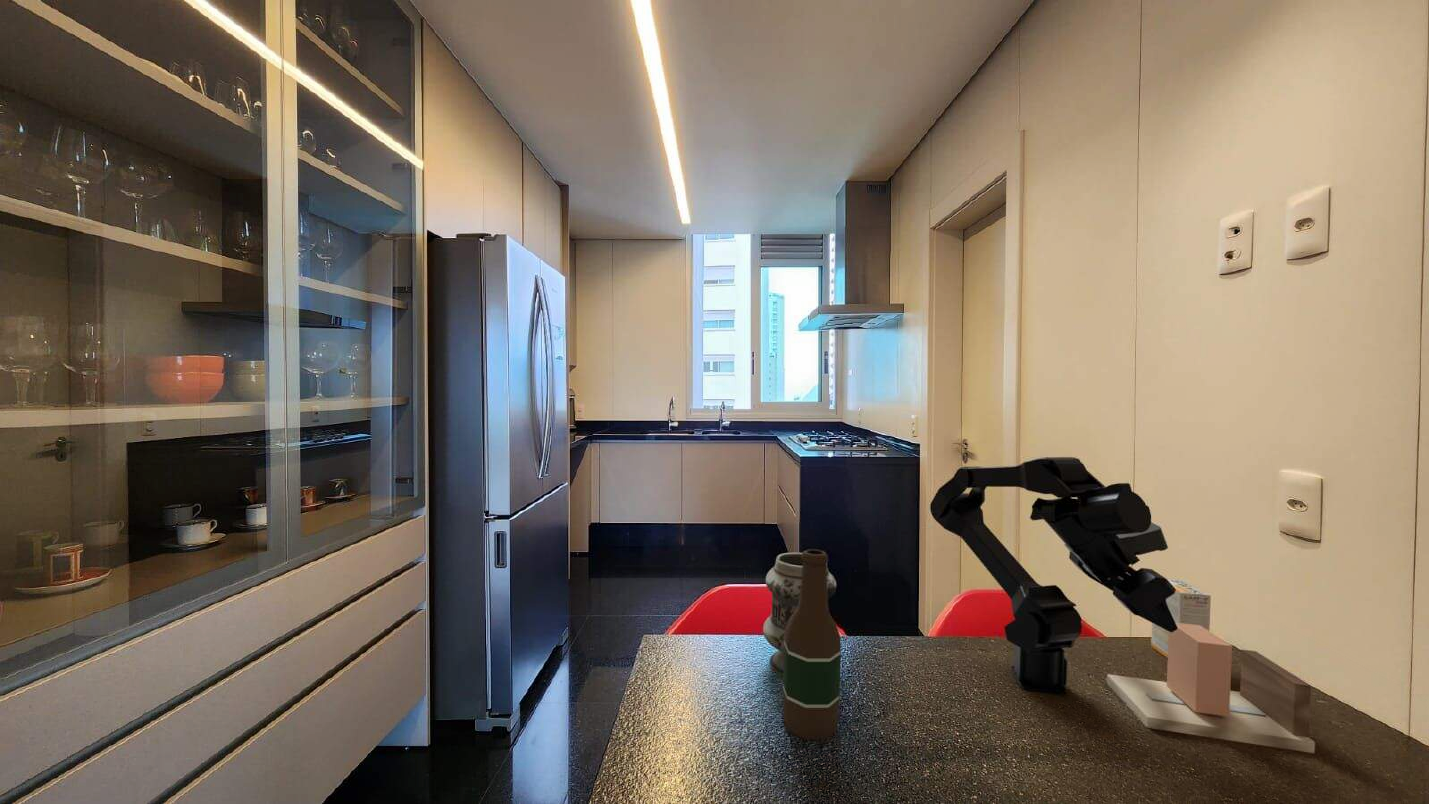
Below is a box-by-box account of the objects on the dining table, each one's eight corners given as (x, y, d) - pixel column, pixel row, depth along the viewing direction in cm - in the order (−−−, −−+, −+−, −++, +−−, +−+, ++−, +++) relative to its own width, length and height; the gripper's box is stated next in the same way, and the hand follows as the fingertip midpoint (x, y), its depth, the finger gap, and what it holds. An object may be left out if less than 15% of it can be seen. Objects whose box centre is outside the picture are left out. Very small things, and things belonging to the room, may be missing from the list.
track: (1146, 727, 75) (1149, 667, 75) (1106, 683, 87) (1108, 631, 87) (1314, 753, 70) (1317, 689, 70) (1248, 702, 82) (1250, 648, 82)
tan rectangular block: (1195, 711, 76) (1198, 642, 76) (1166, 686, 83) (1169, 621, 82) (1229, 716, 75) (1232, 646, 75) (1197, 690, 82) (1200, 625, 81)
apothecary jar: (825, 648, 96) (828, 549, 96) (843, 685, 84) (847, 571, 84) (758, 647, 96) (761, 547, 95) (767, 684, 84) (770, 570, 83)
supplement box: (1210, 671, 92) (1213, 595, 91) (1177, 667, 93) (1181, 592, 92) (1178, 649, 100) (1181, 579, 100) (1149, 646, 101) (1152, 577, 101)
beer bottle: (841, 715, 76) (846, 547, 76) (835, 748, 69) (840, 563, 68) (787, 703, 79) (792, 541, 78) (775, 734, 71) (781, 556, 71)
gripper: (1168, 520, 71) (1253, 614, 69) (1099, 487, 89) (1165, 561, 88) (1094, 569, 73) (1175, 660, 72) (1041, 527, 91) (1105, 599, 90)
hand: (1154, 615), depth 80 cm, fingers open, 9 cm apart
